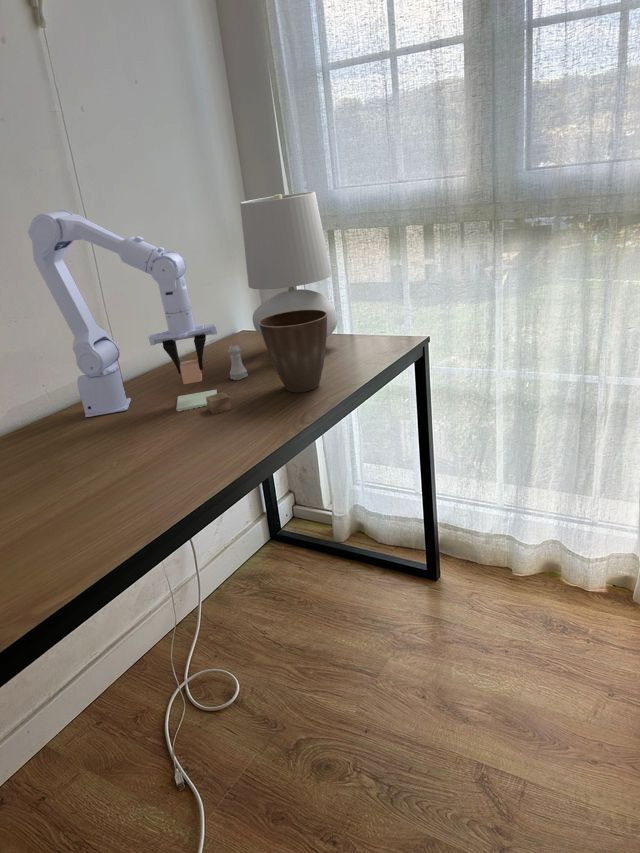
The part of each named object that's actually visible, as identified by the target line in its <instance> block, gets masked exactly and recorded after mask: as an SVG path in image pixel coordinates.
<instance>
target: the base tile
mask: <svg viewBox="0 0 640 853" xmlns="http://www.w3.org/2000/svg"><path fill="white" fill-rule="evenodd" d="M217 390H218V389H211V390H206V391H200V392H195V393H190V394H185V395H178V396H177V402H176V410H175V411H176V412H177V411H178V412H182V411H183V410H184V411H188V409H189V410H193V408H195V409H199V408H198V407H200V408H204V407H203V406H206V407H208V406H207V401H206V397H208V396H211V395H215V394H218V391H217Z"/></svg>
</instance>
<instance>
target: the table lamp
mask: <svg viewBox="0 0 640 853" xmlns="http://www.w3.org/2000/svg"><path fill="white" fill-rule="evenodd" d="M316 194H317V193H316V192H315V191H306V192H296V193H289V194H280V193H279V194H275V195H274V194H273V196H267V197H262V198H260V197H259V198H256V199H251V200H246V201H241V202H240V203H239V206H240V207H239V208H240V213H241V224H242V225H241V226H242V227H241V228H242V234H243V245H244V256H245V264H246V274H247V284H248V288H250V289H253V290H280V289H285V288H286V289H288V290H286V291H282V292H280V293H277V294H275V295H273V296H272V297H270V298H268V299H267V300H265V301H264V302H262V303H261V304H260V305H259V306H258V307H257V308H256V309H255V310H254V312H253V314H252V324H253V327H254V329H255V331H256V333H258V334H259V335H260V337H262V338H263V335H262V332H261V329H260V326H259V321H260V320H262V319H264V318H266V317H268V316H271V315H275V314H279V313H283V312H289V311H296V310H322V311H325V312H327V338H328V337H329V336H331V335H332V334H333V332H335V330H336V328H337V326H338V318H337V313H336V310H335V308H334V305H333V304H332V302H331V301H330V300H329V299H328V298H327V297H326V296H325V295H324V294H322V293H320V292H319V291H315V290H311V289H298V288H297V289H295V287H301V286H305V285H310V284H313V283H317V282H320V281H323V280H326V279H328V278H330V277H331V276H332V275H333V273H332V270H331V264H330V259H329V254H328V248H327V244H326V240H325V239H326V238H325V235H324V230H323V225H322V220H321V215H320V211H319V204H318V200H317V196H316Z"/></svg>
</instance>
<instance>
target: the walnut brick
mask: <svg viewBox="0 0 640 853" xmlns="http://www.w3.org/2000/svg"><path fill="white" fill-rule="evenodd" d="M206 401H207V405H208V406H207V409H208V411H210V412H211V413H212V412H213V413H216V412H220V411H223V412H225V411H224V410H227V411H229V410H228V409H230V410H232V404H231V400H230V396H229V395H227V394H226V393H225V392H219V393H217V394H215V395H211V396H208V397H206ZM213 413H212V414H213ZM220 413H221V412H220ZM216 414H217V413H216Z"/></svg>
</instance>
